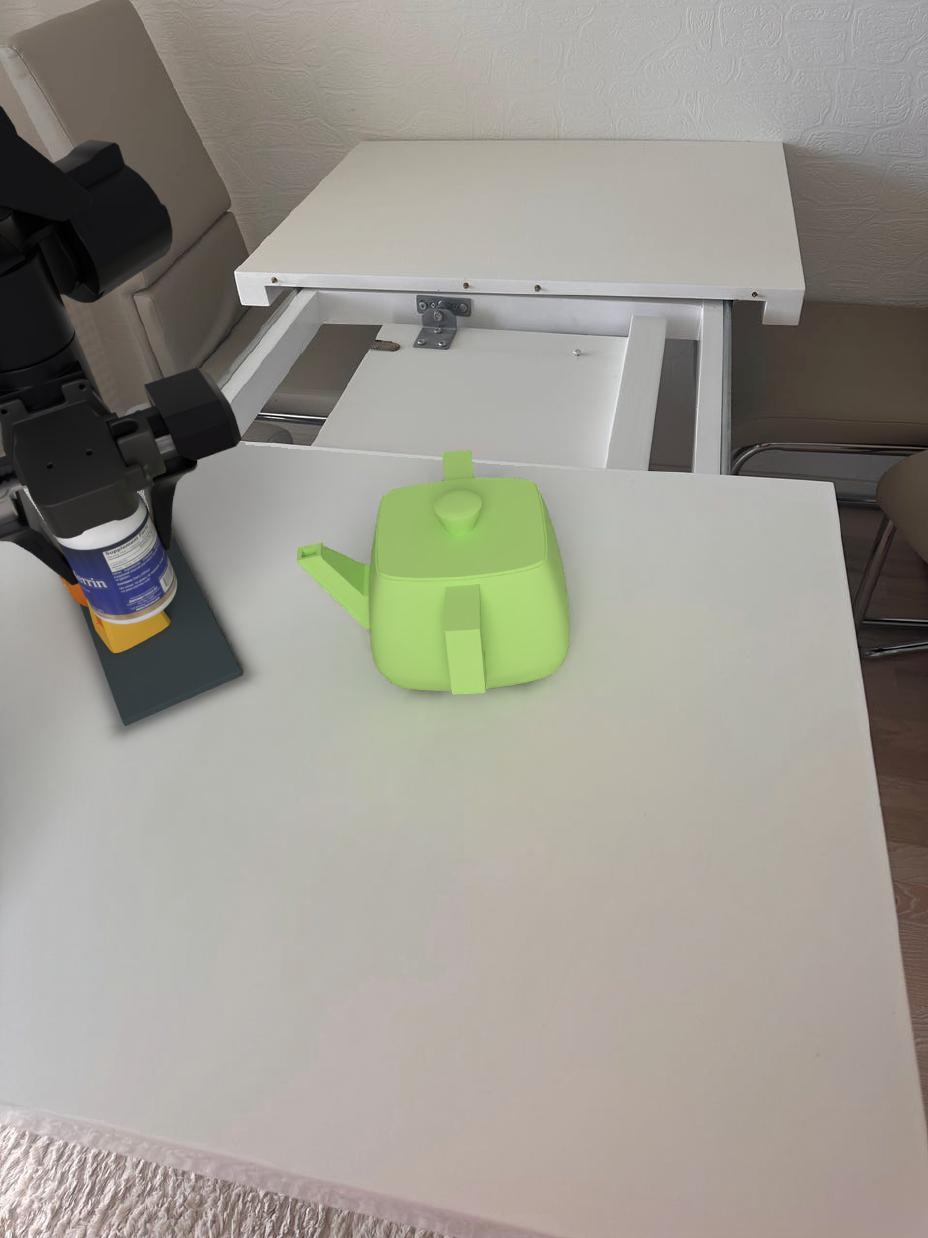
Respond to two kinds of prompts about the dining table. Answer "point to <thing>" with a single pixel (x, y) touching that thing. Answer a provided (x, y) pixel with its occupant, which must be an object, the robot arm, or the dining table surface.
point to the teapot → (456, 583)
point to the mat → (169, 653)
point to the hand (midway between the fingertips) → (120, 563)
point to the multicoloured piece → (120, 625)
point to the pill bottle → (122, 568)
